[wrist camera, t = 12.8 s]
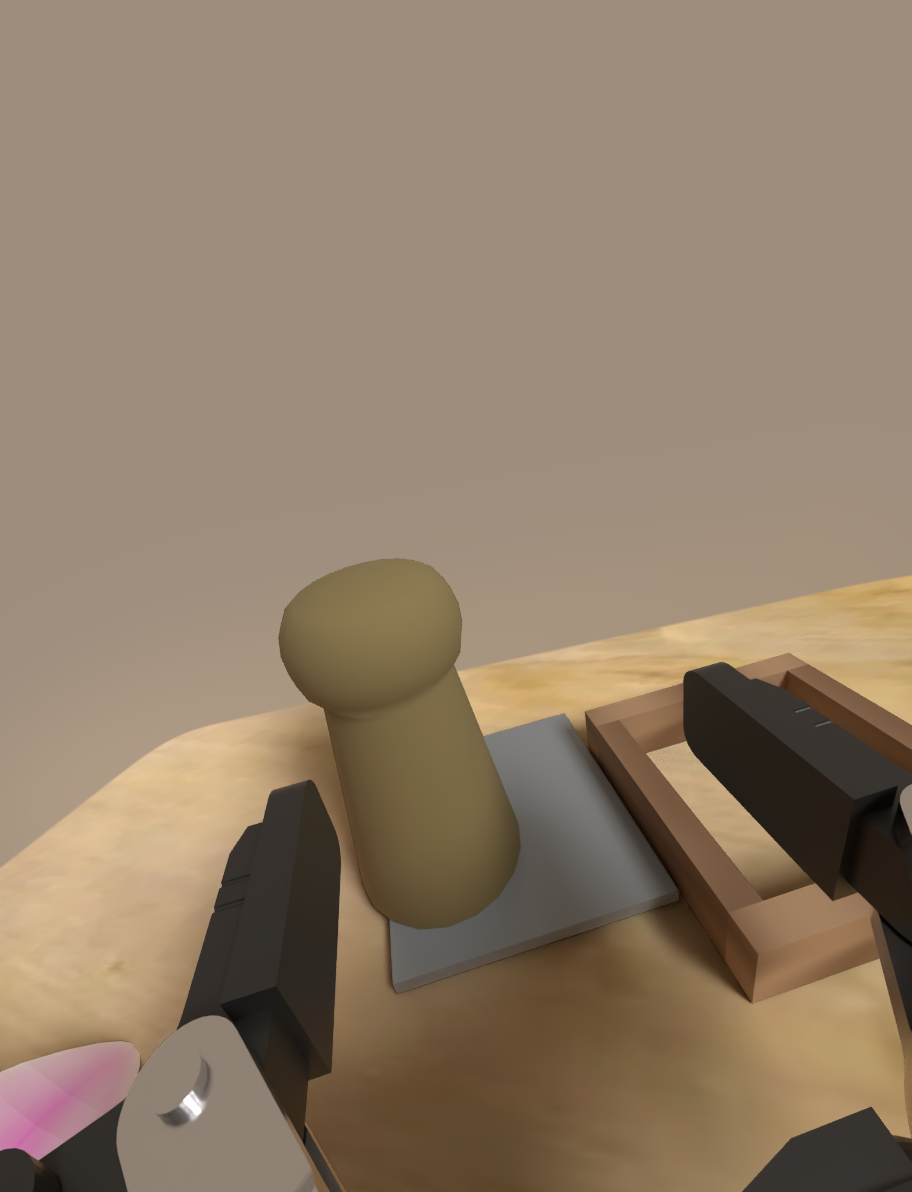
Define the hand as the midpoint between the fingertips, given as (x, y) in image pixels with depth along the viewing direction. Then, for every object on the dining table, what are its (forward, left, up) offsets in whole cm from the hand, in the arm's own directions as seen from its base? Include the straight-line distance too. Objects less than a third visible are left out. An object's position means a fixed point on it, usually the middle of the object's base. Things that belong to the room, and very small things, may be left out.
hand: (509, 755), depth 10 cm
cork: (-2, +5, -8) cm, 10 cm away
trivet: (0, +6, -9) cm, 10 cm away
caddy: (+10, +3, -9) cm, 13 cm away
